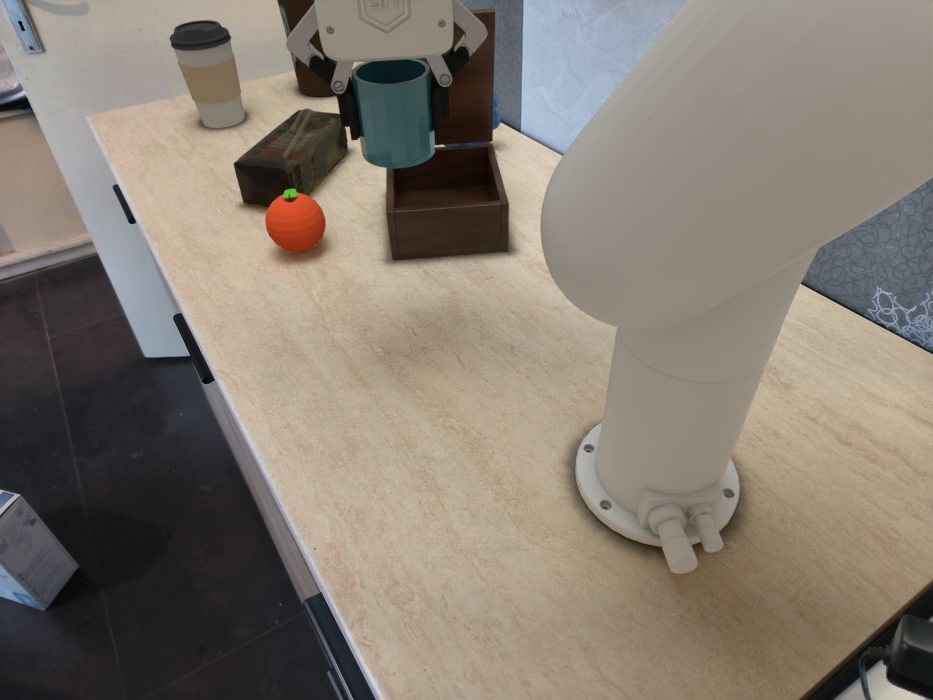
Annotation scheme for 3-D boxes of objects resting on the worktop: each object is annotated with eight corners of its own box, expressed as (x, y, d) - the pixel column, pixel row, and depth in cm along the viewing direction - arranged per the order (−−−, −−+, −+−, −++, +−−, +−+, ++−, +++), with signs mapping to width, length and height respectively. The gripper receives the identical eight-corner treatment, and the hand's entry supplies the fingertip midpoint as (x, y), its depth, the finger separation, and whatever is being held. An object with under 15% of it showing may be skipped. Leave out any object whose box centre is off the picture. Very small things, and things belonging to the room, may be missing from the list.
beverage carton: (352, 150, 99) (345, 107, 94) (295, 214, 85) (284, 168, 81) (304, 146, 101) (295, 103, 96) (241, 208, 87) (227, 162, 83)
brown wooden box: (508, 251, 77) (509, 203, 73) (392, 260, 77) (386, 212, 72) (492, 187, 89) (492, 142, 85) (391, 195, 88) (386, 150, 84)
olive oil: (355, 75, 123) (333, -82, 106) (353, 96, 115) (328, -70, 99) (299, 78, 123) (267, -78, 106) (292, 100, 115) (257, -66, 98)
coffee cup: (201, 111, 113) (172, 17, 102) (254, 107, 113) (231, 13, 103) (191, 132, 106) (158, 34, 96) (247, 128, 106) (221, 30, 96)
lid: (495, 11, 71) (489, -13, 74) (368, 19, 70) (368, -6, 74) (492, 141, 84) (487, 116, 88) (386, 149, 84) (385, 123, 87)
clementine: (273, 232, 82) (259, 180, 78) (328, 224, 83) (318, 173, 78) (272, 267, 76) (257, 213, 72) (331, 258, 77) (320, 205, 73)
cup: (437, 165, 55) (433, 82, 51) (362, 171, 55) (350, 87, 50) (432, 133, 60) (427, 54, 55) (362, 138, 60) (351, 59, 55)
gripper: (233, -109, 41) (292, 157, 53) (506, -121, 42) (502, 142, 54) (249, -126, 46) (299, 119, 59) (490, -136, 48) (490, 106, 60)
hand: (396, 128), depth 56 cm, fingers closed on cup, 6 cm apart
